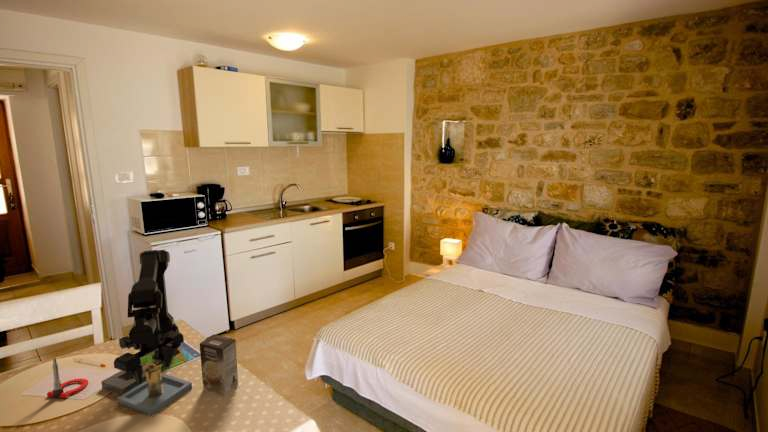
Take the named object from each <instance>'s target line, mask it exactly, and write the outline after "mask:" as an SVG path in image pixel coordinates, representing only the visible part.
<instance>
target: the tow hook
mask: <svg viewBox="0 0 768 432" xmlns="http://www.w3.org/2000/svg"><path fill="white" fill-rule="evenodd" d="M52 362H53V364H52V370H53V372H52V373H53V389H52V390H51V391H48V392H47V393H46V396H47V397H50V398H52V397H53V398H56V399H67V400H68V399H69V398H68V397H70V396H72V395H74V394H77V393H79V392H81V391H83V390H84V389H86V388H87V387H88V386H87V385H89V380H88V379H86V378H74V379H69V380H67V381H64V382H62V380H61V379H60V374H59V366H58V365H59V364H58V363H57V357H56V356H55V357H52ZM73 382H74V384H76V383H75V382H81V383H82V384H81V383H80V384H81V385H80V386H78V387H75V388H73V389H71V390H66V391H65V392H64V388H65V387H66V386H65V385H67V384H70V383H73ZM70 385H71V384H70ZM64 386H65V387H64ZM67 386H68V385H67ZM86 386H87V387H86ZM62 387H63V388H62ZM85 387H86V388H85ZM76 392H77V393H76Z"/></svg>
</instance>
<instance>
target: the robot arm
mask: <svg viewBox="0 0 768 432" xmlns="http://www.w3.org/2000/svg"><path fill="white" fill-rule="evenodd" d="M170 261H171V255H170V252H169V251H166V249H153V250H152V249H151V250H150V249H149V250H144V251H141V252H140V253H139V265H141V266H140V271H139V276H138V281H136V282H135V283H134V284H132V287H131V290H130V292H129V293H128V295H127V318H134V319H133V320H134V321H133V324H132V325H131V328H130V330H129V333H128V335H124V336H122V337H120V338H118V342H119V343H118V344H119V346H120V348H121V350H123V349H128V350H130V349H131V348H133V350H136V351H138V350H139V351H138V352H135V353H131V352H126V353H124V354H122V355H120V356H118V357H116V358H114V360H113V369H116V370H119V371H125V372H130V373H131V375H132V379H133V378H134V379H135V380H136V382H137V383H138V384H141V383H142V365H140V363H142V360H141V359H143V358H145V357H147V356H149V355H150V354H153V355H152V358H155V359H157V360H161V361H164V366H165V368H170V366H171V364H172V361H173V359H174V357H175V356H176V355H177V354H178V353H180V352H181V350H180V349H179V347H180V346H182V345H181V344H182V343H184V342H185V340H184V335H183V333H181V332H180V330H179V327H178V326H177V323H175V318H174V317H173V316H172V315H171V313H169V309H168V308H169V307H168V299H167V298H168V297H167V289H166V288H167V287H166V279H165V273H166V271H167V270H168V267H169V263H170Z"/></svg>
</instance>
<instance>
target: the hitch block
mask: <svg viewBox="0 0 768 432" xmlns="http://www.w3.org/2000/svg"><path fill="white" fill-rule="evenodd" d="M144 364H145V363H143V362H141V363H140V365H142V383H144V382H145V381H147V380H146V372H145V371H143V365H144ZM131 376H132V375H131V373H130V372H125V371H122V370H119V371H118V372H116V373H115V374H113V375H111V376H109V377H107V378H105V379H103V380H101V389H102V390H105V391H108V392H111V393H113V394H116V395H118V396H122V395H124V394H125V393H127V392H129V391H130V390H132V389H134V388H135V387H137V386H139V385H140V384H138V383H137V382H136V380H135V379H134V378H133V376H132V379H131ZM129 378H130V380H128V379H129ZM142 383H141V384H142Z"/></svg>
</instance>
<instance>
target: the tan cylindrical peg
mask: <svg viewBox="0 0 768 432" xmlns="http://www.w3.org/2000/svg"><path fill="white" fill-rule="evenodd" d="M143 364H144V365H143V371H145V372H146V380H147V389H148V396H149V397H150V398H155V397H158V396H160V395H162V394H163V383H162V374H161V373H162V367H163V360H162V359H154V360H153V359H152V360H149V361H148V362H146V363H143Z"/></svg>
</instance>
